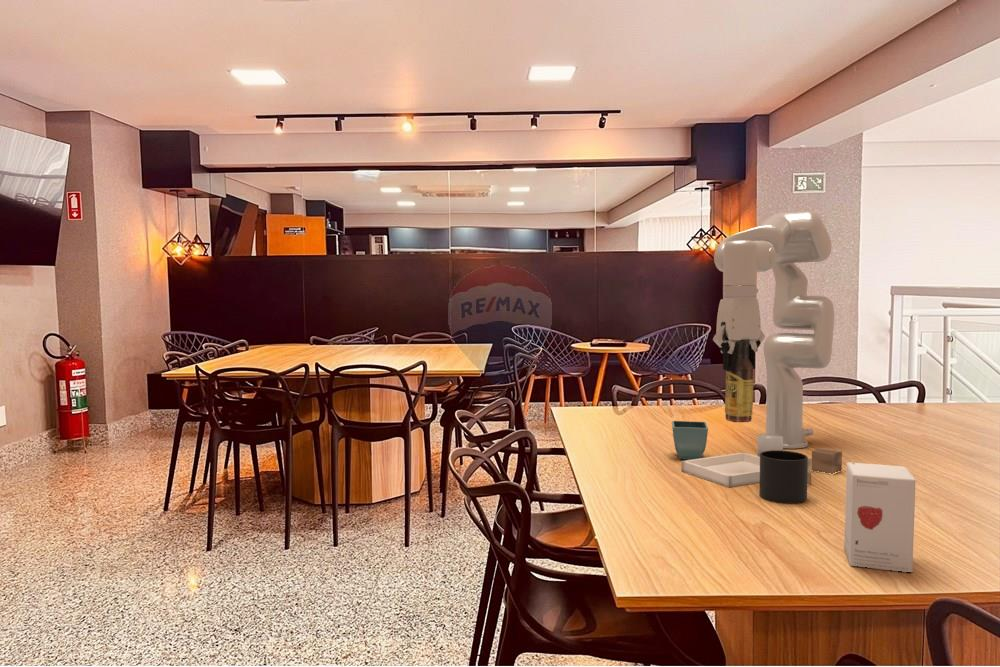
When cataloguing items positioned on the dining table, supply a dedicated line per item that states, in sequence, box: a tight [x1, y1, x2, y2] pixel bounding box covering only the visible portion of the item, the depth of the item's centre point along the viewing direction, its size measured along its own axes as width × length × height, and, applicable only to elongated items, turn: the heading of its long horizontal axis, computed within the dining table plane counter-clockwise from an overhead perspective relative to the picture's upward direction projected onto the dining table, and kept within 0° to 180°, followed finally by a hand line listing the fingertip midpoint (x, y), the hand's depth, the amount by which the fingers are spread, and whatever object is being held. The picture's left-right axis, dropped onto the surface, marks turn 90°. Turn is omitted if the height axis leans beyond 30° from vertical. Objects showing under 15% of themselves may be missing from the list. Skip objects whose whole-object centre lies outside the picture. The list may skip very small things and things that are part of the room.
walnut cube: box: [811, 447, 843, 474], centre depth 170 cm, size 5×5×5 cm
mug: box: [758, 450, 809, 504], centre depth 150 cm, size 9×12×9 cm
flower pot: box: [671, 420, 709, 460], centre depth 185 cm, size 9×9×9 cm
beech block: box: [807, 456, 812, 485], centre depth 160 cm, size 4×4×6 cm
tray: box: [680, 452, 760, 488], centre depth 168 cm, size 20×16×2 cm
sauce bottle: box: [724, 339, 754, 423], centre depth 167 cm, size 7×6×20 cm
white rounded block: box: [756, 433, 784, 457], centre depth 178 cm, size 6×6×7 cm
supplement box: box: [843, 461, 916, 573], centre depth 114 cm, size 9×9×15 cm
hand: (739, 368), depth 167 cm, fingers closed on sauce bottle, 5 cm apart
